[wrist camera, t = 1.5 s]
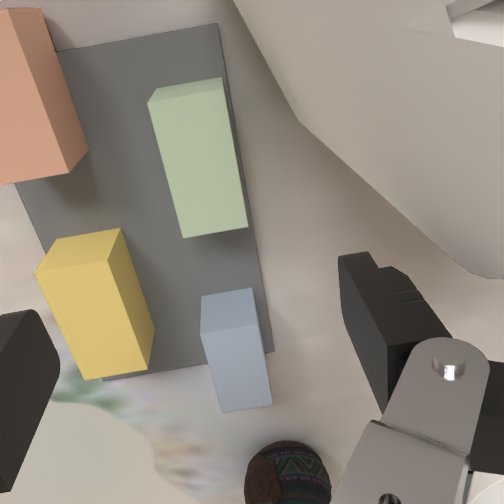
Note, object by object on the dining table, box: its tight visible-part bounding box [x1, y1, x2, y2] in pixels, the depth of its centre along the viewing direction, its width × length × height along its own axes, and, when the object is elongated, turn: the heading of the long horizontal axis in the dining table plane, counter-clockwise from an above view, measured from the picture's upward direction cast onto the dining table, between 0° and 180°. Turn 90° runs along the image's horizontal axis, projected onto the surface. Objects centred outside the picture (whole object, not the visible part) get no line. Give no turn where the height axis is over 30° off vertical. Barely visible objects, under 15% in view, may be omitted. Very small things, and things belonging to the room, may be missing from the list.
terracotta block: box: [0, 8, 89, 185], centre depth 21 cm, size 7×4×4 cm, turn 9°
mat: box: [14, 23, 275, 382], centre depth 28 cm, size 22×13×1 cm, turn 9°
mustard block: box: [34, 228, 155, 380], centre depth 27 cm, size 8×4×4 cm, turn 9°
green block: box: [147, 77, 248, 238], centre depth 23 cm, size 7×4×4 cm, turn 9°
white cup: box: [468, 471, 504, 504], centre depth 33 cm, size 8×8×10 cm
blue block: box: [200, 287, 273, 413], centre depth 30 cm, size 7×4×4 cm, turn 9°
